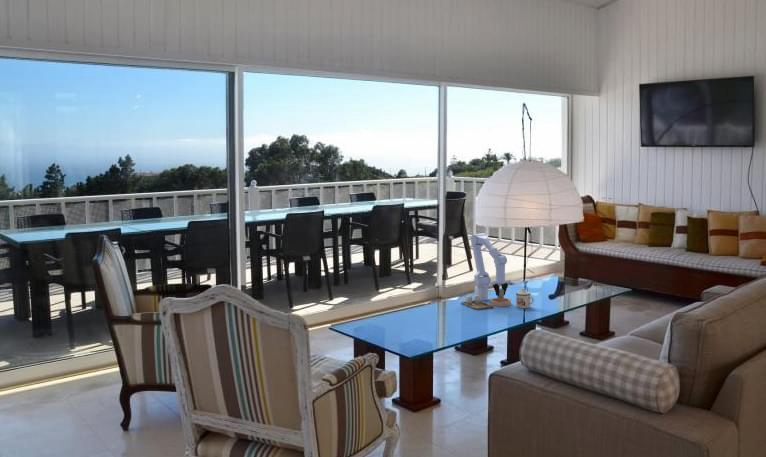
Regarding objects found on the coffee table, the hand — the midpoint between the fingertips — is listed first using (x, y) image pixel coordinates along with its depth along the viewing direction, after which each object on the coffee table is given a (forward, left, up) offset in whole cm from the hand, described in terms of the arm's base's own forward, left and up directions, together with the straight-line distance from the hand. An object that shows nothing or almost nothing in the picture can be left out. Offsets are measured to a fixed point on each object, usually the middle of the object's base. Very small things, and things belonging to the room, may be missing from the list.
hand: (500, 295), depth 456 cm
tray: (-2, -16, -6) cm, 17 cm away
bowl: (0, 0, -6) cm, 6 cm away
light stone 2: (-7, -13, -6) cm, 16 cm away
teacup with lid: (+13, +10, -6) cm, 18 cm away
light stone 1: (-7, -19, -6) cm, 21 cm away
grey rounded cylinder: (0, 0, -1) cm, 1 cm away
